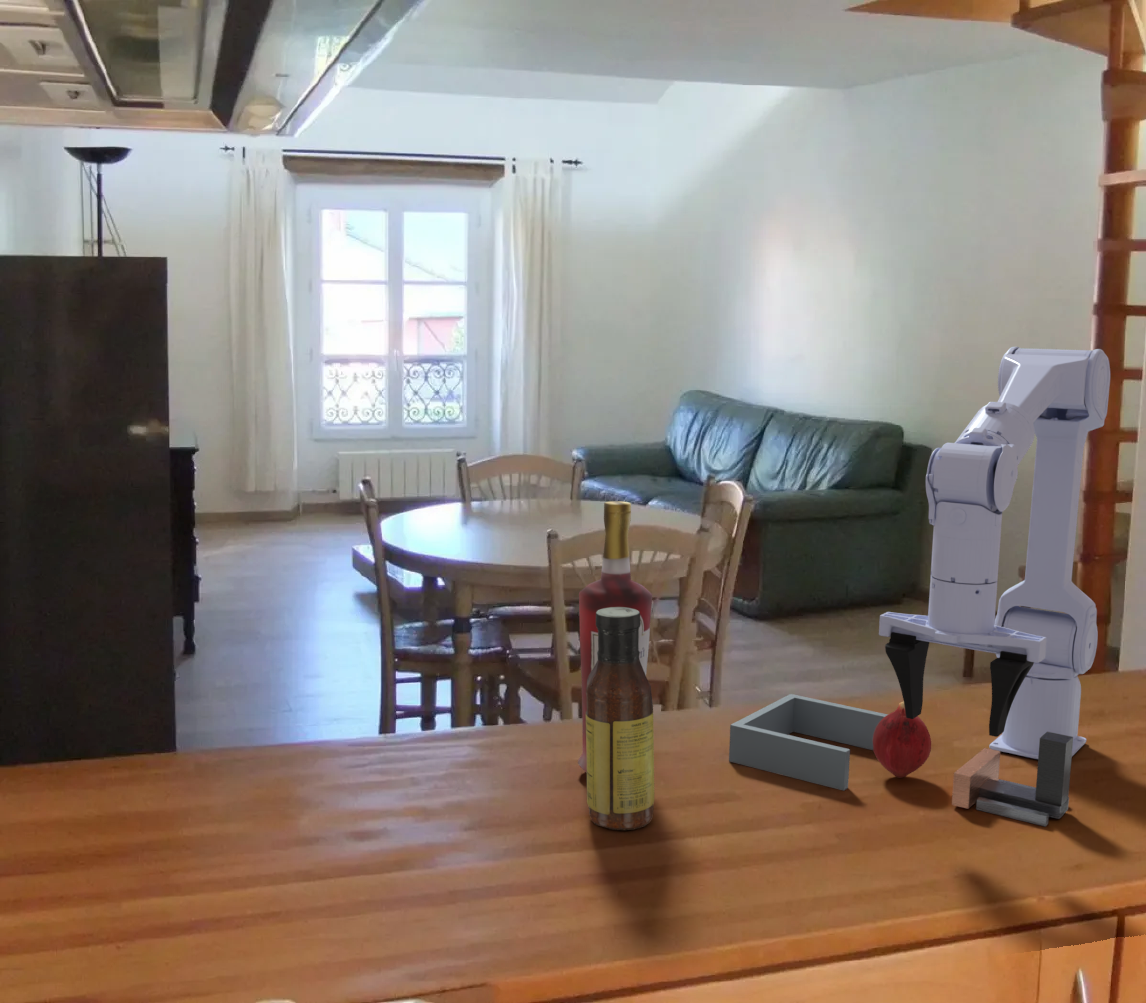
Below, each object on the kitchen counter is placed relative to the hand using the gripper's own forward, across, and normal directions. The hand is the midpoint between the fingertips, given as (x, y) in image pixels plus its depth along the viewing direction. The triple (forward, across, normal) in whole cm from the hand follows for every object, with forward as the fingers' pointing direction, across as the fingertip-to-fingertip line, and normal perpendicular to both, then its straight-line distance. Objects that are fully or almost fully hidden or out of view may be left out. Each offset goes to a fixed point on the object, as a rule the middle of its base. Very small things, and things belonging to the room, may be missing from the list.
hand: (954, 724), depth 112 cm
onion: (+10, -8, +10) cm, 17 cm away
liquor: (+10, -32, -8) cm, 35 cm away
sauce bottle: (+10, -25, -17) cm, 32 cm away
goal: (+10, -18, +10) cm, 23 cm away
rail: (+10, +4, +10) cm, 15 cm away
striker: (+10, +3, +10) cm, 14 cm away
